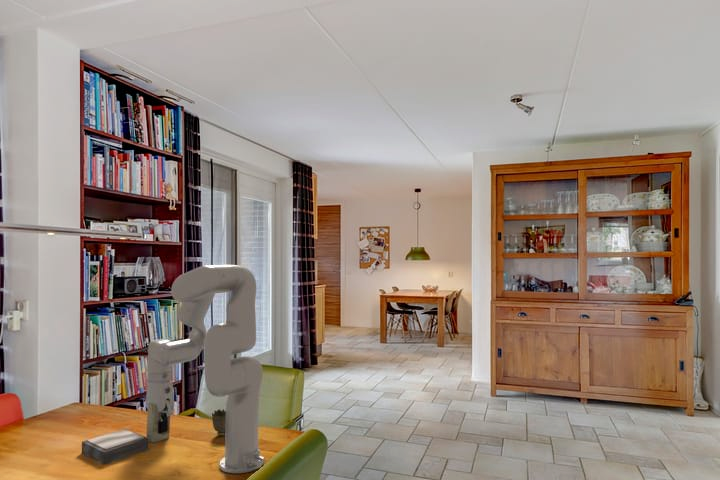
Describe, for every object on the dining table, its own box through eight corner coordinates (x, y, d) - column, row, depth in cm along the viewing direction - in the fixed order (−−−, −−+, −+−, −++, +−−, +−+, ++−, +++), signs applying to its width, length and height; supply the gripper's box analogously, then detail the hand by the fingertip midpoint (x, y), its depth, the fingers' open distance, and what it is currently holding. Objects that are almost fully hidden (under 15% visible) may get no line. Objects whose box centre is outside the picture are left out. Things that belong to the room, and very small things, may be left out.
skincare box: (152, 443, 157) (153, 405, 157) (145, 440, 159) (146, 403, 160) (170, 437, 162) (171, 401, 162) (163, 434, 164) (164, 399, 165)
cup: (227, 440, 159) (227, 416, 160) (207, 438, 161) (207, 414, 161) (237, 432, 167) (237, 409, 167) (218, 430, 168) (218, 408, 169)
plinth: (148, 449, 151) (148, 436, 151) (103, 464, 140) (104, 450, 140) (125, 439, 159) (125, 427, 160) (81, 453, 148) (82, 440, 148)
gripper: (184, 377, 160) (182, 432, 159) (156, 371, 169) (154, 422, 168) (163, 382, 153) (162, 439, 153) (135, 375, 163) (134, 428, 162)
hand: (158, 430), depth 161 cm, fingers closed on skincare box, 4 cm apart
